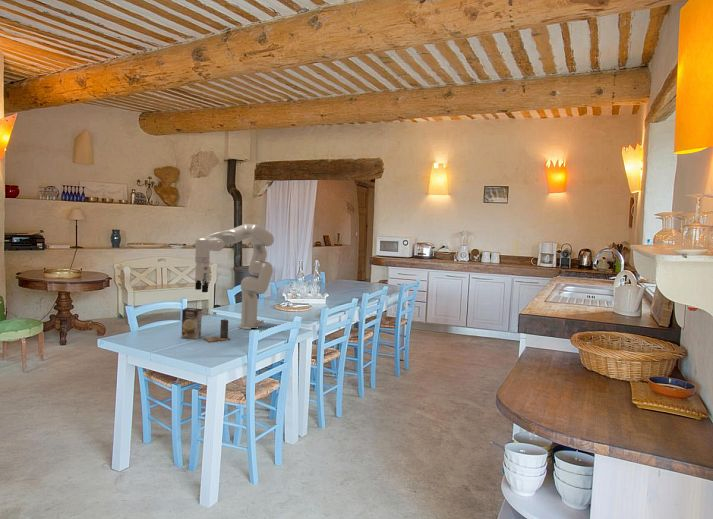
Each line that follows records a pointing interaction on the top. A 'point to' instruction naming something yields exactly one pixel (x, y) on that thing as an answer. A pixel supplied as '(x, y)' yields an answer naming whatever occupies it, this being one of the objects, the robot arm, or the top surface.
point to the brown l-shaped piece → (222, 334)
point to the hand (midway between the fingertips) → (201, 290)
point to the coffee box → (191, 323)
